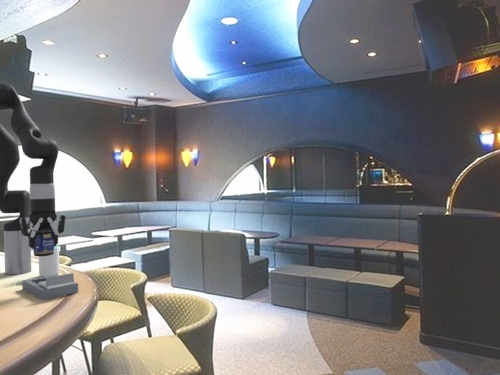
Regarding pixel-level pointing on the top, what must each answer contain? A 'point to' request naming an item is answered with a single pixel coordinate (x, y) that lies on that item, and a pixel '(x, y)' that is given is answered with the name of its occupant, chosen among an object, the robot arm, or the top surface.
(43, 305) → the top surface
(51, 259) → the can
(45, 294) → the socket plate
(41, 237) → the pill bottle
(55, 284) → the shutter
